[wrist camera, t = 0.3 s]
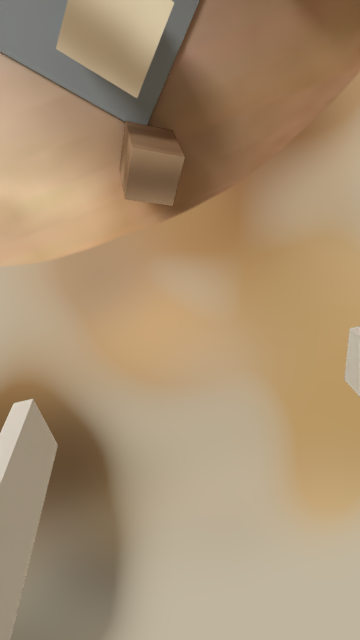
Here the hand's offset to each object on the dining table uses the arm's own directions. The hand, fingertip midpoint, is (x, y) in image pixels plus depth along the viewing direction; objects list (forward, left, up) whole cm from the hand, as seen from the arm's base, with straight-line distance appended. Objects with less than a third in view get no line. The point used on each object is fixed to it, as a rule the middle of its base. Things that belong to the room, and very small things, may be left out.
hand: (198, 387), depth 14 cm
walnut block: (-2, +1, -27) cm, 27 cm away
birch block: (-9, -6, -27) cm, 29 cm away
